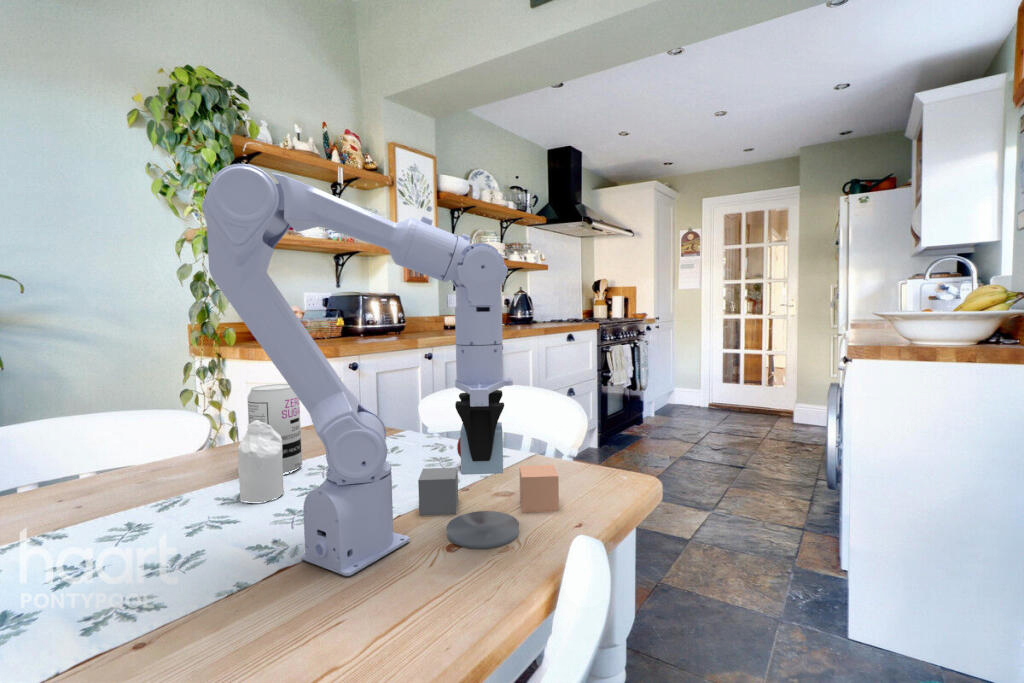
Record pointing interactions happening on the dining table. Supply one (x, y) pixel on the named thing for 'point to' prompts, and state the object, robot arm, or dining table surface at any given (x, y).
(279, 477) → the grey crumpled-top cylinder
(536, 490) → the terracotta cube
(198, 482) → the dining table surface
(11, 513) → the dining table surface
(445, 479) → the charcoal cube
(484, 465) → the blue cube
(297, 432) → the white soda can
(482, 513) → the slate coaster
